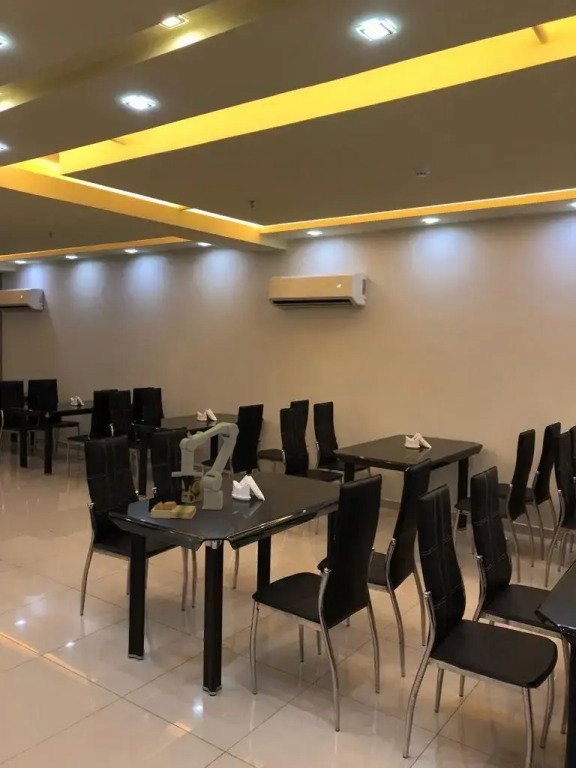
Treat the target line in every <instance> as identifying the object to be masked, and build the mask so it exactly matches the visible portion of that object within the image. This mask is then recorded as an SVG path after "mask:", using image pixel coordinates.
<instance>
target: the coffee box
mask: <svg viewBox="0 0 576 768" xmlns="http://www.w3.org/2000/svg"><path fill="white" fill-rule="evenodd" d="M202 470H203V469H202ZM202 470H201V469H195V468H193V472H202V473H203V471H202ZM202 478H203V475H202V476H193V479H192V481H191V484H190V486H189V490H188V492H185V486H184V483H183V480H182V479H181V502H182V503H186V504H193V503H197V502H199V501H202V486H201V479H202Z"/></svg>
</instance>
